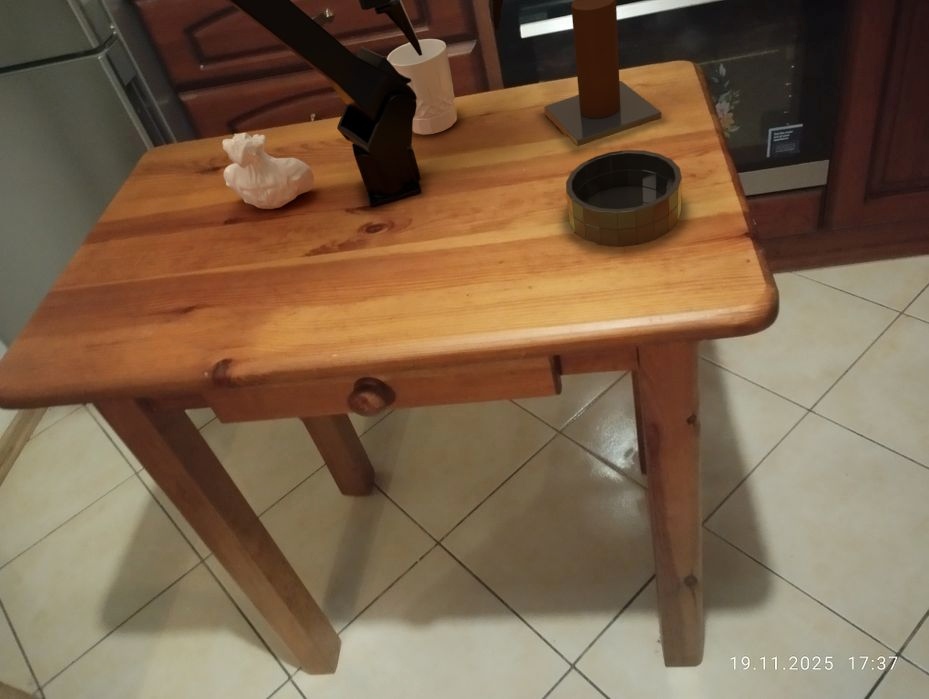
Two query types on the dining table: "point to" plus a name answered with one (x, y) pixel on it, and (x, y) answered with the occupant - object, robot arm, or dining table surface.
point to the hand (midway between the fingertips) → (458, 42)
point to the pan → (624, 197)
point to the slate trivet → (591, 129)
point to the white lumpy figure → (264, 173)
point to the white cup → (428, 84)
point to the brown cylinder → (596, 56)
